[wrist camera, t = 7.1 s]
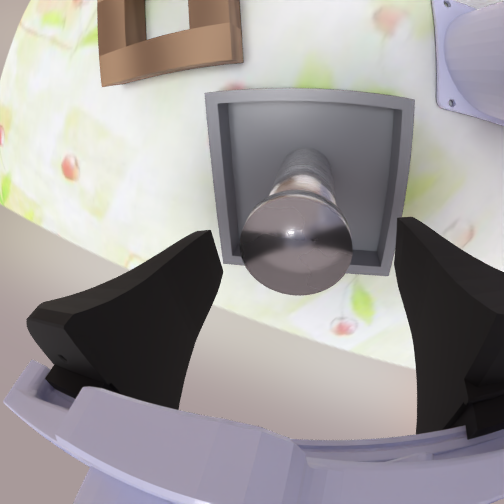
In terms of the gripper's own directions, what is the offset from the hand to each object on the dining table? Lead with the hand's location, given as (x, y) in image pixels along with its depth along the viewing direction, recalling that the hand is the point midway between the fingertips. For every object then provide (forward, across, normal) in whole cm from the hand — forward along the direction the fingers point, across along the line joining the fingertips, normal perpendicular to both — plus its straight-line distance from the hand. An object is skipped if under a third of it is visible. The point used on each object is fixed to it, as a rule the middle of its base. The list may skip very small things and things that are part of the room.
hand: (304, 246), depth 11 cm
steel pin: (+8, 0, 0) cm, 8 cm away
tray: (+9, 0, 0) cm, 9 cm away
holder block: (+9, +7, -13) cm, 17 cm away
